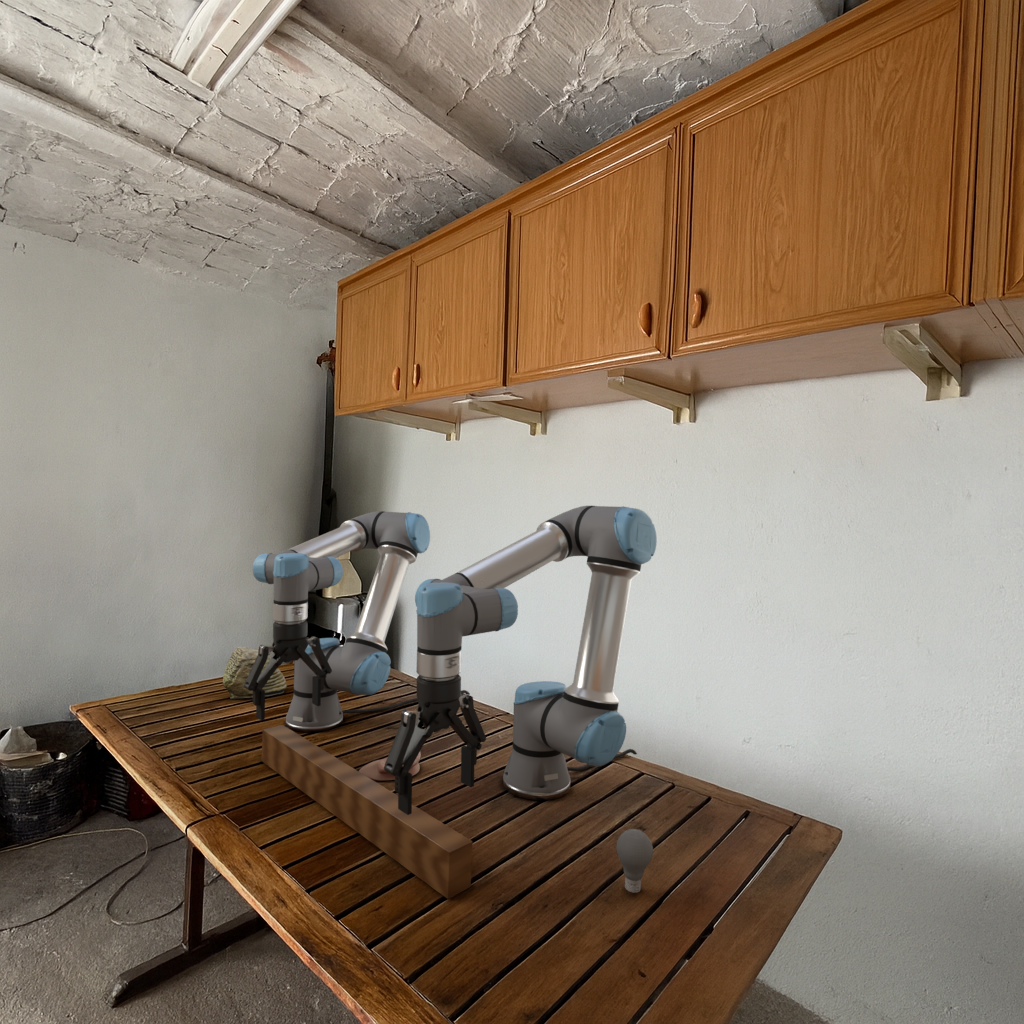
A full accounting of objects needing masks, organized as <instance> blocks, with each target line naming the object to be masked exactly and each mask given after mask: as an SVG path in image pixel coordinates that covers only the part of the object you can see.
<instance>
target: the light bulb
mask: <svg viewBox="0 0 1024 1024" xmlns="http://www.w3.org/2000/svg"><path fill="white" fill-rule="evenodd" d="M615 849H616V854H617V857H618V859H619V861H620V863H621V865H622V867H623V873H624V874H623V875H624V876H625V878H624V888H625V890H627V891H628V892H630V893H634V894H635V893H639V892H640V891H641V889H642V887H641V886H642V879H643V877H644V875H645V871H646V868H647V867H648V866H649V864H650V863H651V861H652V859H653V855H654V847H653V843H652V841H651V838H649V836H648V835H647V834H646V833H645V832H643V831H642V830H641V829H636V828H629V829H627V830H625V831H623V832H622V833H621V834H620V835H619V837H618V839H617V841H616V847H615Z"/></svg>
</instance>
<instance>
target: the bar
mask: <svg viewBox="0 0 1024 1024" xmlns="http://www.w3.org/2000/svg"><path fill="white" fill-rule="evenodd" d="M261 762H262V763H263V764H265V765H266V766H268V767H269V768H270V769H272V770H273V771H274V772H275V773H277V774H278V775H279V776H281V777H282V778H283V779H285V780H286V781H287V782H288V783H290V784H292V785H293V786H294V787H296V788H297V789H299V790H300V791H301V792H302V793H304V794H305V795H307V796H308V797H309V798H311V800H313V801H314V802H316V803H317V804H319V805H320V806H321V807H323V808H324V809H325V810H327V811H328V812H329V813H331V814H332V815H334V816H335V817H336V818H337V819H339V820H340V821H342V822H343V823H344V824H345V825H347V826H348V827H349V828H351V829H352V830H354V831H355V832H356V833H358V834H359V835H361V836H362V837H363V838H365V839H366V840H367V841H368V842H370V843H372V845H374V846H375V847H376V848H378V849H379V850H381V852H383V853H385V854H386V855H387V856H389V857H390V858H391V859H393V860H394V861H395V862H397V863H398V864H400V865H401V866H402V867H404V868H405V869H406V870H408V871H409V872H411V874H413V875H415V876H416V877H417V878H418V879H420V881H422V882H424V883H425V884H427V885H428V886H429V887H431V888H432V889H433V890H434V891H436V892H437V893H439V894H440V895H441V896H443V897H444V898H446V899H447V900H449V899H451V898H452V897H455V896H456V895H458V894H460V893H461V892H463V891H465V890H467V889H470V888H471V886H472V867H473V866H472V865H473V864H472V863H473V846H474V845H473V840H471V839H470V838H468V837H466V836H464V835H463V834H461V833H460V832H457V831H456V830H454V829H453V828H451V827H450V826H448V825H446V824H445V823H443V822H441V821H440V820H439V819H437V818H435V817H433V816H432V815H430V814H428V813H427V812H426V811H424V810H422V809H421V808H419V807H417V806H416V805H414V804H412V813H411V814H409V815H407V814H405V813H404V812H402V811H401V810H399V809H398V794H397V793H394V792H393V791H391V790H389V789H388V788H386V787H384V786H383V785H381V784H380V783H378V782H376V780H373V779H370V778H368V777H367V776H365V775H363V774H362V773H360V772H359V770H357V769H355V768H354V767H352V766H351V765H349V764H347V763H346V762H344V761H342V760H341V759H340V758H338V757H335V755H332V754H331V753H329V752H328V751H326V750H325V749H323V748H322V747H320V746H318V745H317V744H315V743H313V742H311V741H309V740H308V739H307V738H305V737H303V736H302V735H300V734H298V733H297V732H295V731H294V730H292V729H289V728H288V727H287V726H286V725H285V724H280V725H275V726H271V727H267V728H263V729H262V740H261Z"/></svg>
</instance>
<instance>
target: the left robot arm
mask: <svg viewBox="0 0 1024 1024" xmlns="http://www.w3.org/2000/svg"><path fill="white" fill-rule="evenodd" d="M430 542H431V531H430V526H429V523H428V521H427V519H426V518H425V516H423V515H422V514H421V513H415V512H411V511H409V512H399V511H397V512H396V511H384V510H377V511H371V512H367V513H364V514H360V515H358V516H356V517H353V518H352V517H351V518H350V519H348V520H345V521H344V522H342V523H341V524H340V526H339V527H337V528H334V529H333V530H330V531H328V532H326V533H323V534H321V535H318V536H316V537H314V538H312V539H309V540H306V541H304V542H302V543H300V544H297V545H294V546H292V547H290V548H287V549H285V550H283V551H280V552H278V553H273V552H268V553H261V554H259V555H258V556H257V557H256V558H255V559H254V561H253V564H252V574H253V577H254V578H255V580H256V581H258V582H260V583H263V584H264V583H265V584H268V585H273V603H272V604H273V605H272V620H273V621H274V622H273V623H272V640H273V641H272V644H271V645H264V644H260V645H259V646H258V648H259V650H258V656H257V658H256V660H255V662H254V664H253V667H252V669H251V671H250V673H249V675H248V677H247V679H246V681H245V684H244V688H246V689H248V690H249V691H253V697H252V704H253V706H255V709H256V710H255V717H256V718H257V719H258V720H260V721H265V720H266V717H265V716H266V696H265V691H264V690H262V688H263V687H264V686H265V684H266V683H267V681H268V680H269V679H270V677H271V676H272V675H273V673H274V672H275V670H276V669H277V668H278V669H279V667H280V666H281V665H282V664H283V663H290V662H294V663H293V664H294V668H293V695H292V696H293V697H292V699H291V702H290V704H289V708H288V711H287V713H286V715H285V727H287V728H289V729H290V730H292V731H294V732H295V731H296V732H301V733H316V732H325V731H329V730H332V729H335V728H337V727H339V726H340V725H342V723H343V722H344V715H345V714H365V713H375V712H381V711H386V710H390V709H391V710H392V709H396V708H398V707H402V706H404V705H406V704H407V705H408V704H410V703H415V702H418V699H417V697H415V698H411V699H407V700H403V701H400V702H398V703H395V704H392V705H387V706H381V707H375V708H366V709H342V706H341V702H340V699H339V695H338V691H340V692H344V693H345V692H346V693H351V694H354V695H356V696H360V695H362V696H364V695H365V696H372V695H375V694H376V693H378V692H379V691H380V690H381V689H382V688H383V687H384V686H385V684H386V683H387V681H388V678H389V676H390V673H391V668H392V667H391V662H392V661H391V658H390V656H389V654H388V647H387V645H386V643H385V642H386V638H387V635H388V632H389V629H390V625H391V623H392V619H393V616H394V612H395V610H396V607H397V605H398V604H397V603H398V600H399V597H400V594H401V591H402V587H403V584H404V582H405V579H406V575H407V572H408V569H409V565H412V564H414V563H415V562H416V561H417V557H418V554H424V553H425V552H426V551H427V550H428V549H429V546H430ZM366 549H367V550H369V549H371V550H377V552H378V554H379V556H380V557H379V559H378V563H377V565H376V568H375V571H374V575H373V578H372V581H371V584H370V586H369V589H368V592H367V595H366V598H365V600H364V604H363V606H362V608H361V612H360V615H359V618H358V621H357V624H356V627H355V630H354V632H353V634H350V635H349V636H347V637H346V638H345V642H344V645H343V646H341V645H340V644H341V643H340V640H339V638H337V637H321V638H319V637H316V636H314V635H312V636H311V637H310V638H307V637H308V624H309V623H308V621H307V619H308V615H309V614H308V613H309V612H308V609H309V592H312V591H318V590H323V589H329V588H330V587H333V586H336V585H338V584H339V583H340V582H341V580H342V579H343V575H344V568H343V564H342V563H341V562H340V560H339V559H338V558H339V557H341V556H343V555H345V554H347V553H350V552H351V553H356V552H359V551H361V550H366ZM271 652H272V653H273V654H272V656H271V657H270V658H271V659H270V662H269V663H268V665H267V666H266V667H265V669H264V670H263V671H262V669H263V667H264V665H265V663H266V660H267V658H268V656H270V655H271ZM261 671H262V673H261ZM260 673H261V674H260ZM461 693H464V694H467V695H470V696H471V693H470V692H469V691H468V690H465V689H461Z"/></svg>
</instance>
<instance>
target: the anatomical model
mask: <svg viewBox="0 0 1024 1024" xmlns="http://www.w3.org/2000/svg"><path fill="white" fill-rule="evenodd" d="M421 756H422V754H421V751H420V752H419V754H418V756H417V757H416V759H415V761H414V763H413V765H412V766H411V768H410V770H409V773H411V774H412V777H413V776H415V775H417V774H418V773H419V771H420V768H421V766H420V763H419V762H420V760H421ZM387 758H388V757H384V758H382V759H377V760H373V761H371V762H369V763H367V764H365V765H363V766H362V767H361V768H360V769H359V770H358V771H359V772H360V773H362V774H363V775H365V776H367V777H368V778H370V779H372V780H373V781H379V782H380V781H381V782H382V781H395V776H394V775H392V774H390V773H389V772H387V771H385V770H384V766H385V763H386V761H387Z"/></svg>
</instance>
